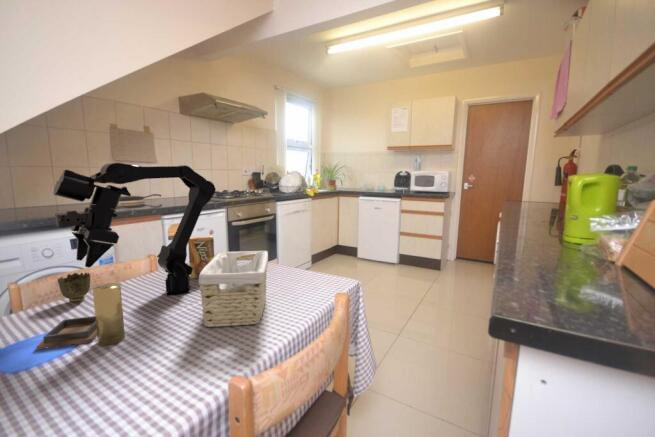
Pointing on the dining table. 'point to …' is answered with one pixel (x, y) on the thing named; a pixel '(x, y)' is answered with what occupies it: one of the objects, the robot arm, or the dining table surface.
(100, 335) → the billet
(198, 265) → the candy box
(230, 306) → the storage basket
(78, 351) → the dining table surface
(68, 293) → the cup
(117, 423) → the dining table surface
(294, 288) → the dining table surface
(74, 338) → the square brown tray
